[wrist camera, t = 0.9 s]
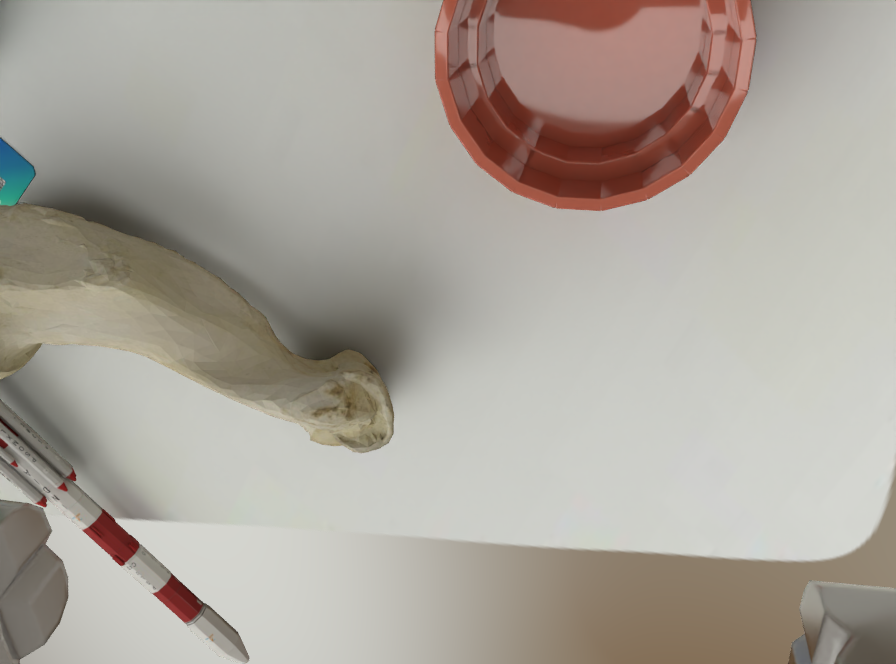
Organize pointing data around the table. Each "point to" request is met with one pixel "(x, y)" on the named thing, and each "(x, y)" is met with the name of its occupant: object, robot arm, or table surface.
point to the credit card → (13, 175)
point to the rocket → (105, 530)
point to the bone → (172, 325)
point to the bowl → (592, 91)
